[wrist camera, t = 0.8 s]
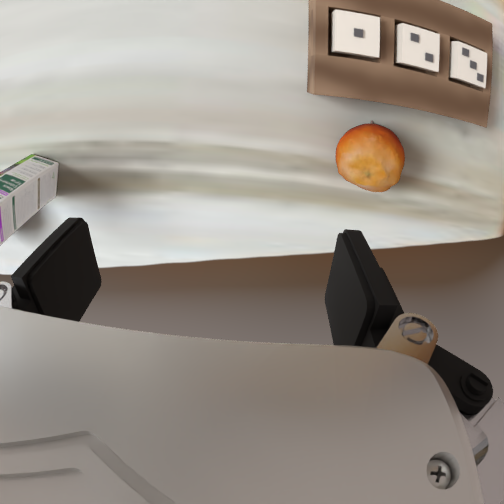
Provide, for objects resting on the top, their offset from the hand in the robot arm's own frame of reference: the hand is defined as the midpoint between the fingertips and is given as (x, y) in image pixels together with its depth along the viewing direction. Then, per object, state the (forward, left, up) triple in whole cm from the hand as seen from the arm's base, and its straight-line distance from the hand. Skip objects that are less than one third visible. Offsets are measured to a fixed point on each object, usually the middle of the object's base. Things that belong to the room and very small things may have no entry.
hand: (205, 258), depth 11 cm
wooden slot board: (-12, +18, -27) cm, 35 cm away
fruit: (+2, +14, -28) cm, 31 cm away
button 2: (-12, +18, -23) cm, 32 cm away
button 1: (-12, +11, -23) cm, 28 cm away
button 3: (-12, +25, -23) cm, 36 cm away
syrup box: (+4, -30, -28) cm, 41 cm away
